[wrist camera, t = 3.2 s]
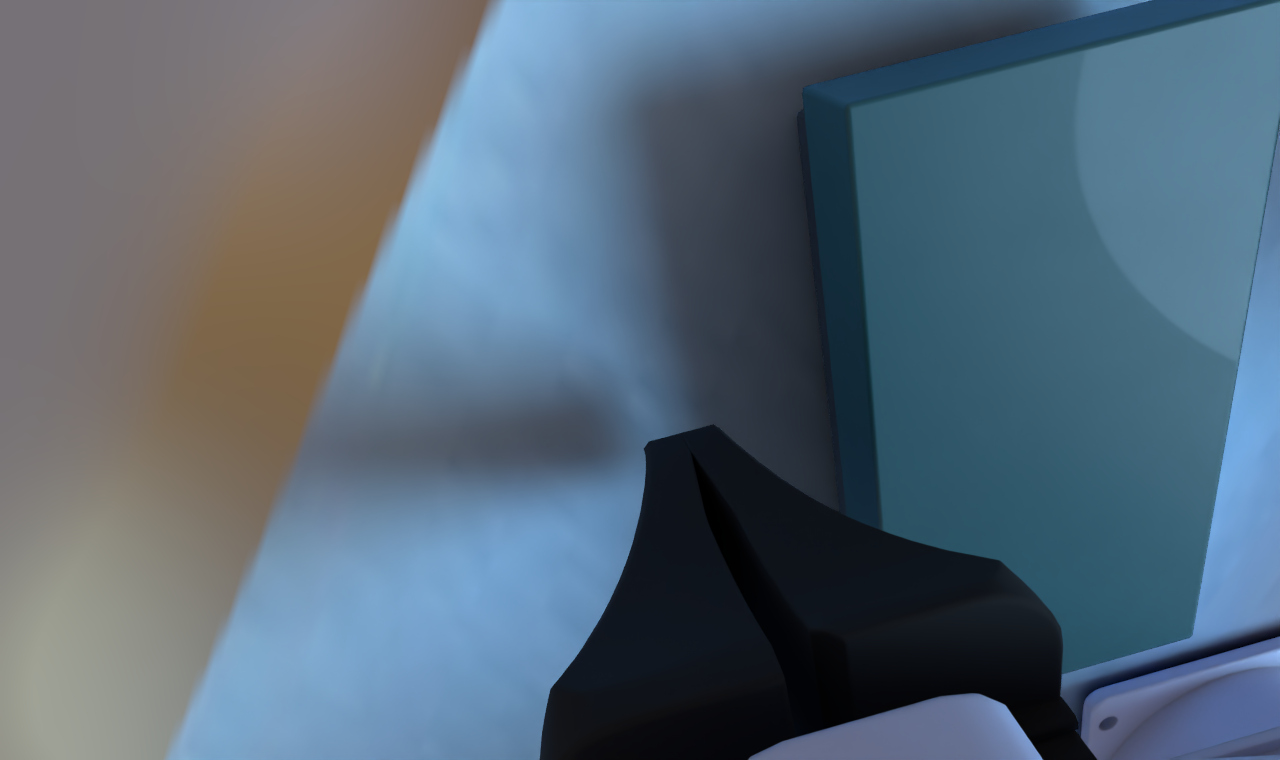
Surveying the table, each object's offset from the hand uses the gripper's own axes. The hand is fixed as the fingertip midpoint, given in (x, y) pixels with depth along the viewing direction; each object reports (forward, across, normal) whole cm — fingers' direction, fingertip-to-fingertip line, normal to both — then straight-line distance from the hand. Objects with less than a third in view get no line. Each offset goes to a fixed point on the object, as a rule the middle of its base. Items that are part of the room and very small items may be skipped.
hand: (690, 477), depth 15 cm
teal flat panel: (+2, -6, 0) cm, 6 cm away
